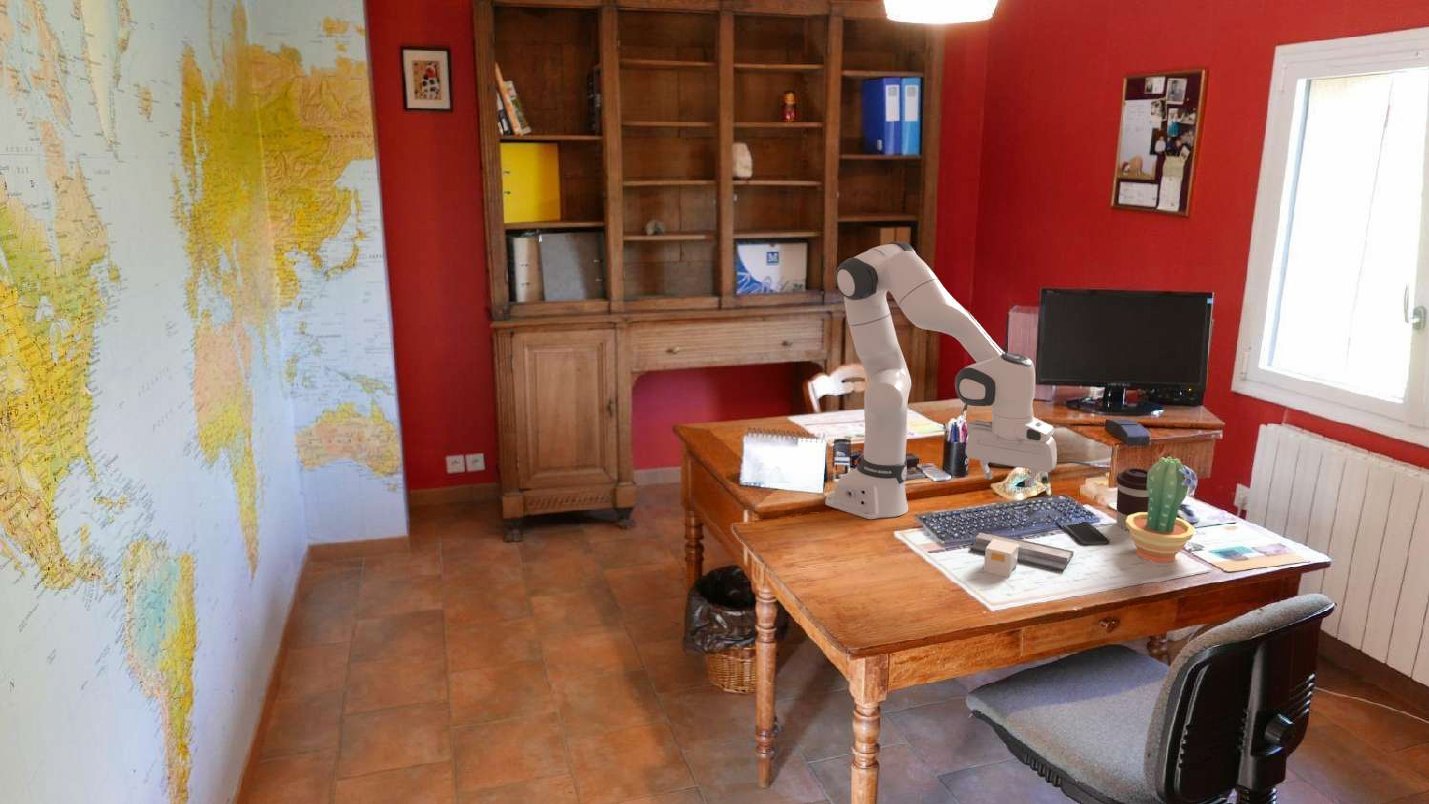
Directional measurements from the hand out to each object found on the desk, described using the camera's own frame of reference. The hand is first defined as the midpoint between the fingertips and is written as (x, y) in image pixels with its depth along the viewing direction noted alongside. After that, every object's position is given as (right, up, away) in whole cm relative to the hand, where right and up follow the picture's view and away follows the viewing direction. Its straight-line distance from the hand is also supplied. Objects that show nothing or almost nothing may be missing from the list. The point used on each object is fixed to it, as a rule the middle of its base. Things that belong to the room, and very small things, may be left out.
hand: (1008, 482), depth 224 cm
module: (0, -21, +5) cm, 22 cm away
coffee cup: (+41, -14, +29) cm, 52 cm away
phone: (+27, -16, +26) cm, 40 cm away
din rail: (+7, -18, +14) cm, 24 cm away
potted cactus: (+40, -19, +13) cm, 46 cm away
